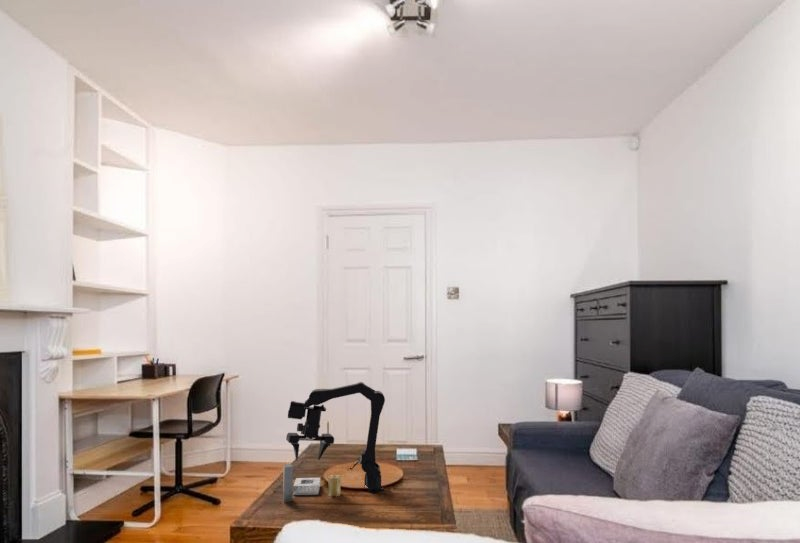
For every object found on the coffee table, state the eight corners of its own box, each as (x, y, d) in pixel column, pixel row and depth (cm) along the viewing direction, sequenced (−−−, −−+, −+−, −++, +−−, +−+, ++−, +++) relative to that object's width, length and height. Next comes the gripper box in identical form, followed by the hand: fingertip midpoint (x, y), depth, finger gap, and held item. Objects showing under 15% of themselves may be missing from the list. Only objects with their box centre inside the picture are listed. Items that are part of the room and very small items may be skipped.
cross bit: (343, 494, 207) (343, 476, 208) (333, 497, 204) (334, 479, 204) (334, 491, 211) (334, 473, 211) (325, 494, 207) (325, 476, 207)
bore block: (320, 486, 217) (320, 477, 218) (318, 494, 207) (318, 485, 208) (296, 486, 216) (296, 478, 217) (293, 495, 207) (293, 486, 207)
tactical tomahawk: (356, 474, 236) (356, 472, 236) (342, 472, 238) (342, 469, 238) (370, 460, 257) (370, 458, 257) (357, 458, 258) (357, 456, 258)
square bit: (291, 498, 203) (291, 464, 204) (292, 501, 200) (293, 466, 201) (282, 499, 202) (283, 465, 203) (283, 502, 199) (284, 467, 200)
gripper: (329, 417, 224) (324, 454, 223) (286, 415, 216) (280, 453, 215) (336, 423, 214) (331, 462, 212) (292, 421, 206) (286, 461, 205)
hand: (307, 459), depth 211 cm, fingers open, 9 cm apart
